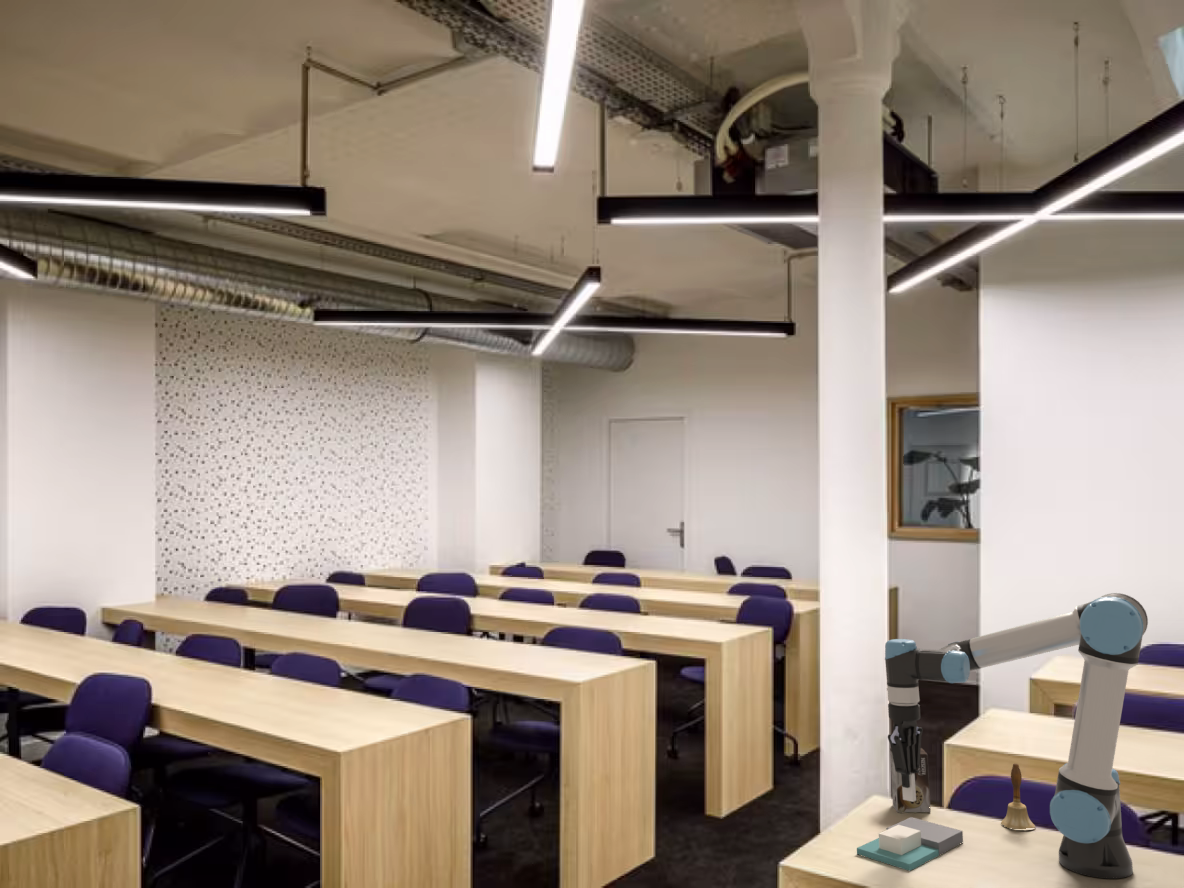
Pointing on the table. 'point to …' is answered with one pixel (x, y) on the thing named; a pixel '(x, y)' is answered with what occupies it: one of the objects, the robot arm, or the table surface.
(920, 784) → the coffee box
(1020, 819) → the hand bell
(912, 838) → the white rectangular block
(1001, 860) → the table surface
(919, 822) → the plate
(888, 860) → the mat
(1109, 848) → the robot arm
